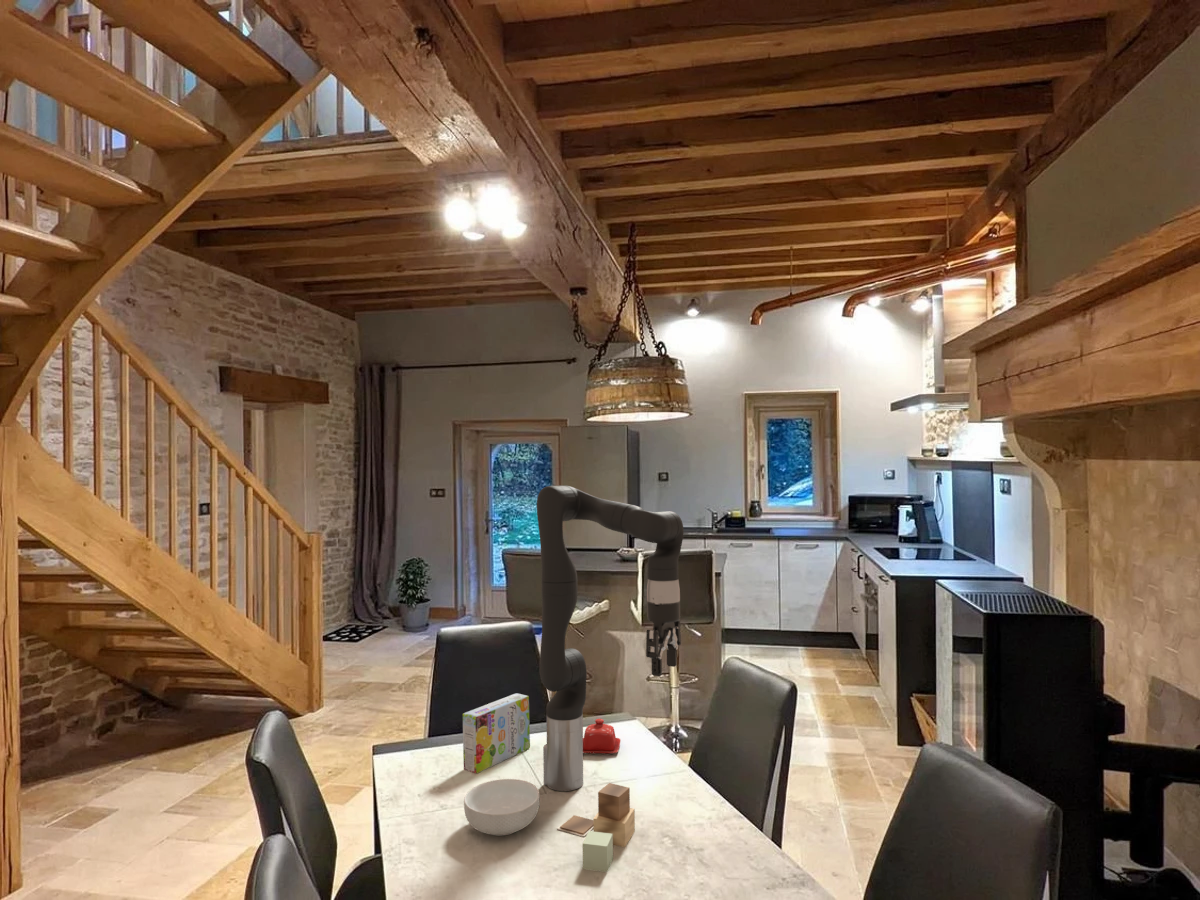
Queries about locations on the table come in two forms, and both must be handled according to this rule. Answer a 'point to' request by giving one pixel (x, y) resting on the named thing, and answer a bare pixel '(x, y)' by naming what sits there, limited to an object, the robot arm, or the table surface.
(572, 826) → the walnut swatch
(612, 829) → the oak base block
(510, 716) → the snack box
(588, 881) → the table surface
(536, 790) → the cereal bowl
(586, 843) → the sage cube
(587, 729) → the butter dish
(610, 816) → the walnut cube
